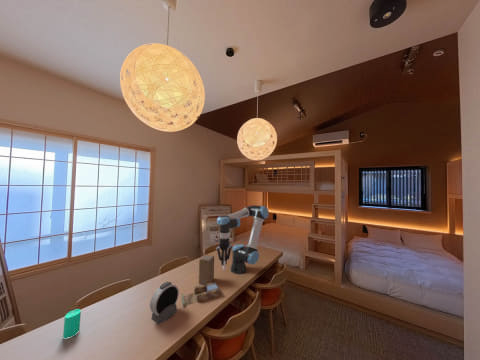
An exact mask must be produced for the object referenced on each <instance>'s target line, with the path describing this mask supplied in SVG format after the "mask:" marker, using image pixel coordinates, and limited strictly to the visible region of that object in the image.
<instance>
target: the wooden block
mask: <svg viewBox="0 0 480 360" xmlns="http://www.w3.org/2000/svg"><path fill="white" fill-rule="evenodd" d="M214 279H215V256H214V255H209V254H203V255H202V256H201V257H200V258H199V260H198V284H199V285H205V284H209V283H213V281H214Z"/></svg>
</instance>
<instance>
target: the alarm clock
mask: <svg viewBox="0 0 480 360" xmlns="http://www.w3.org/2000/svg"><path fill="white" fill-rule="evenodd" d="M179 294H180V290H179V287H178V286H177V285H176V284H174V283H172V282H171V281H165V282H163V283H162V284H161V285H160V286H158V287H157V289H156V290H155V291H153V294H152V296H151V298H150V302H149V308H150V311H151V312H152V314H151V320H152V321H153V322H154V323H156V324H157V325H160V324H162V323H164V322H166V321H168V320H169V319H171V318H172V317H173V316H174V315H175V314H176V313H177V312H178V309H177V307H178V306H177V302H178V299H179Z"/></svg>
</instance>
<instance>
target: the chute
mask: <svg viewBox="0 0 480 360" xmlns="http://www.w3.org/2000/svg"><path fill="white" fill-rule="evenodd" d="M213 284H216V285H217V282H216V281H214V282H213V281H212V283H209V284H205V285H204V284H200V285H197V286H194V289H193V293H189V294H185V295H184V293H181V296H180V297H181V298H180V299H181V303H182V308H185V307H186V306H190V305H193V304H197V303H199V302H203V301H206V300H210V299H214V298H217V297H221V289H220V288H219V287H218V289H214V290H211V291H207V286H209V285H213Z"/></svg>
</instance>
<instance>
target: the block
mask: <svg viewBox="0 0 480 360" xmlns="http://www.w3.org/2000/svg"><path fill="white" fill-rule="evenodd" d="M218 288H219V287H218V285H217V283H216V284H213V285H209V286H207V291H211V290H214V289H218Z"/></svg>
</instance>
